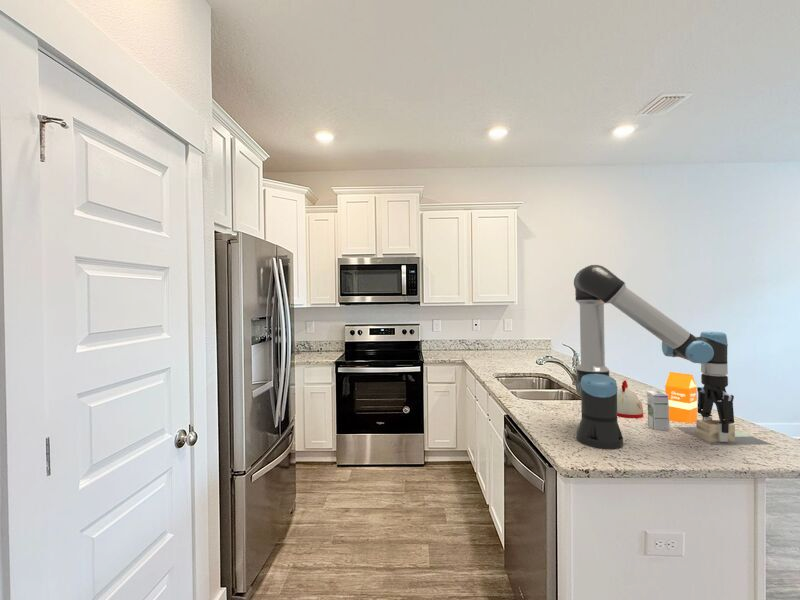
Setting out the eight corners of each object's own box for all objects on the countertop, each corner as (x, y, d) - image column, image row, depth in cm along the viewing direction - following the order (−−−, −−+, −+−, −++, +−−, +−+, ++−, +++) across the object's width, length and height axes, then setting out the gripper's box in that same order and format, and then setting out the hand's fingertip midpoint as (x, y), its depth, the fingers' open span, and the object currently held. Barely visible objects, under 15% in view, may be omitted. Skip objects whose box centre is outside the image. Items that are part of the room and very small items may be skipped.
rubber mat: (712, 446, 134) (712, 444, 134) (673, 428, 153) (673, 426, 153) (772, 445, 134) (772, 443, 134) (726, 428, 153) (726, 426, 153)
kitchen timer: (604, 414, 173) (603, 381, 173) (611, 408, 183) (611, 376, 184) (640, 420, 164) (639, 385, 164) (645, 413, 174) (645, 380, 175)
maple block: (709, 442, 137) (709, 425, 137) (696, 436, 143) (696, 419, 143) (734, 441, 137) (734, 424, 137) (720, 436, 143) (720, 419, 143)
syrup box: (670, 431, 149) (669, 394, 149) (653, 430, 151) (652, 393, 151) (663, 427, 155) (662, 391, 155) (647, 426, 156) (646, 390, 156)
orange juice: (689, 424, 158) (688, 375, 158) (665, 419, 165) (664, 372, 165) (697, 421, 162) (696, 373, 162) (673, 416, 169) (672, 370, 170)
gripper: (748, 379, 130) (749, 447, 130) (704, 369, 149) (705, 429, 149) (725, 379, 130) (727, 448, 130) (684, 369, 149) (685, 429, 149)
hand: (715, 437), depth 140 cm, fingers closed on maple block, 6 cm apart
